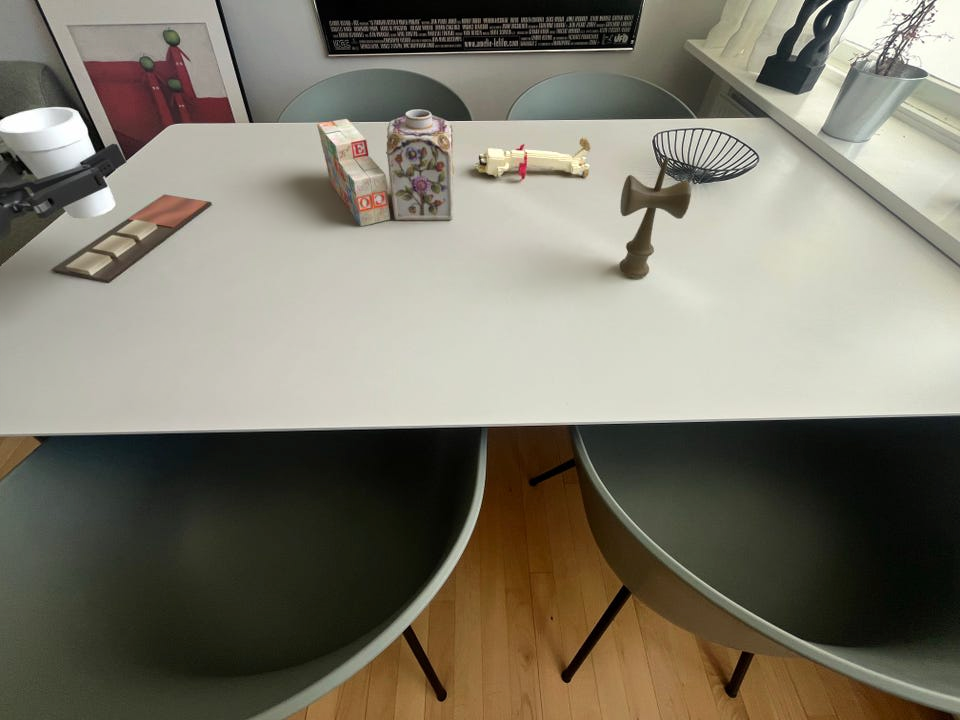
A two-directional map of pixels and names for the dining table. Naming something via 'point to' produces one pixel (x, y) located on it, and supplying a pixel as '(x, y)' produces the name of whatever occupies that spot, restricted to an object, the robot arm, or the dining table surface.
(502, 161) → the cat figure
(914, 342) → the dining table surface
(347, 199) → the stack of blocks
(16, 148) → the foam cup
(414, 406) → the dining table surface
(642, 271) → the kendama
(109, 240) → the word board
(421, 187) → the decorative jar
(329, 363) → the dining table surface
